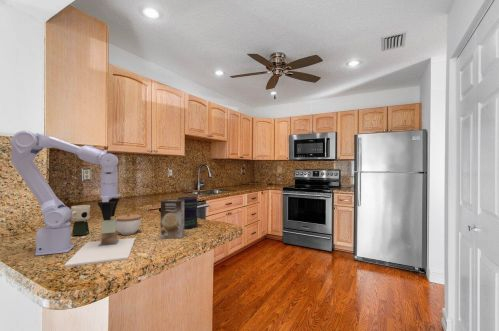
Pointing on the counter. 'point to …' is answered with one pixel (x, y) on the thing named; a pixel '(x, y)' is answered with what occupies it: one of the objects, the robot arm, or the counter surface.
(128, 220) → the lidded jar
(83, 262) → the board
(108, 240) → the walnut block
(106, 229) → the sage block
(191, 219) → the storage jar
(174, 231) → the coffee box
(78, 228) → the character mug
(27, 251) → the counter surface
